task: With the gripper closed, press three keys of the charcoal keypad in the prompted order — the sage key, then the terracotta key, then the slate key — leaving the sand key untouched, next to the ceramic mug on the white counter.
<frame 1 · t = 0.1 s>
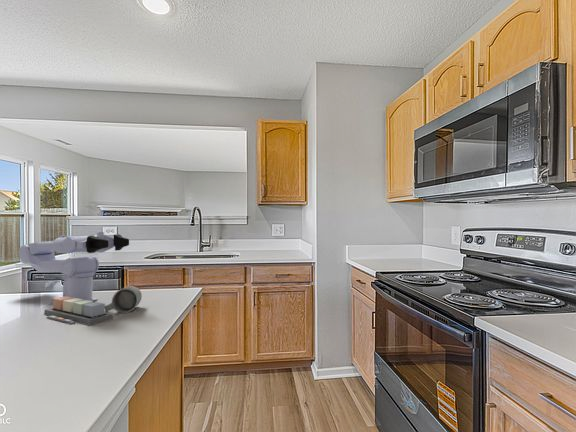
hand: (118, 242, 112), 22 cm above the counter, tool horizontal, fingers open, 7 cm apart
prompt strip: (60, 320, 98), on the counter
terracotta key: (63, 302, 106), point 3 cm above the counter, slide at 0.0 cm
keypad base: (78, 316, 102), on the counter
slate key: (94, 309, 99), point 3 cm above the counter, slide at 0.0 cm
sand key: (73, 304, 103), point 3 cm above the counter, slide at 0.0 cm
sage key: (83, 307, 101), point 3 cm above the counter, slide at 0.0 cm
ceramic mug: (123, 310, 110), on the counter
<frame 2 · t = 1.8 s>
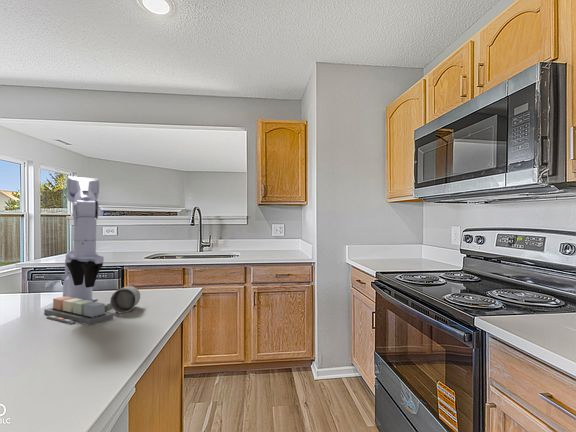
hand: (83, 286, 101), 9 cm above the counter, tool pointing down, fingers open, 5 cm apart
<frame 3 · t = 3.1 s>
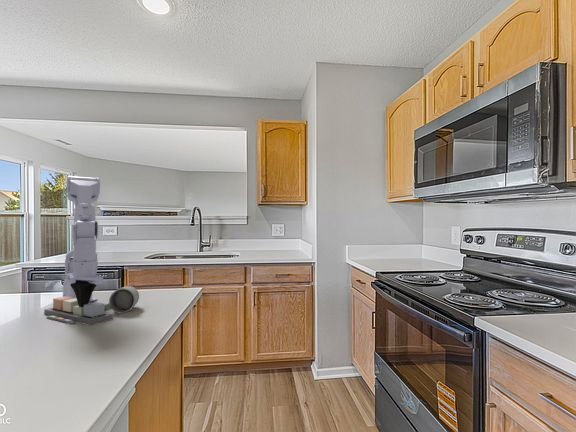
hand: (83, 306, 101), 3 cm above the counter, tool pointing down, fingers closed, pressing on sage key
sage key: (83, 311, 101), point 2 cm above the counter, slide at 1.2 cm, touching gripper
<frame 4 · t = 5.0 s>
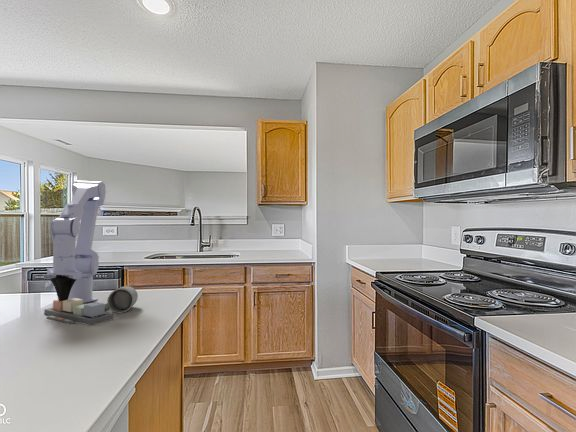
hand: (63, 300, 105), 4 cm above the counter, tool pointing down, fingers closed, pressing on terracotta key
terracotta key: (63, 304, 106), point 3 cm above the counter, slide at 0.6 cm, touching gripper
sage key: (83, 311, 101), point 2 cm above the counter, slide at 1.2 cm
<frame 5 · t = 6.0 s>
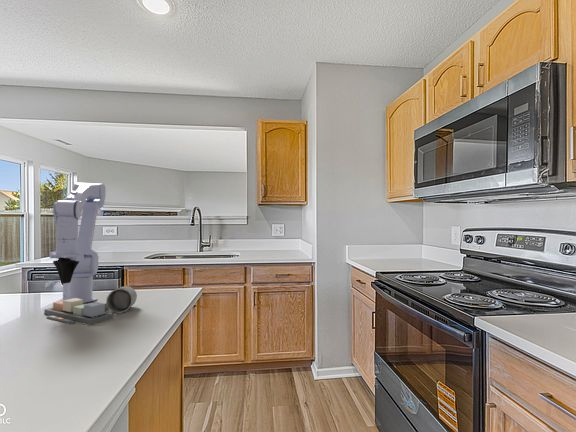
hand: (65, 282, 105), 9 cm above the counter, tool pointing down, fingers closed
terracotta key: (63, 306, 106), point 2 cm above the counter, slide at 1.2 cm
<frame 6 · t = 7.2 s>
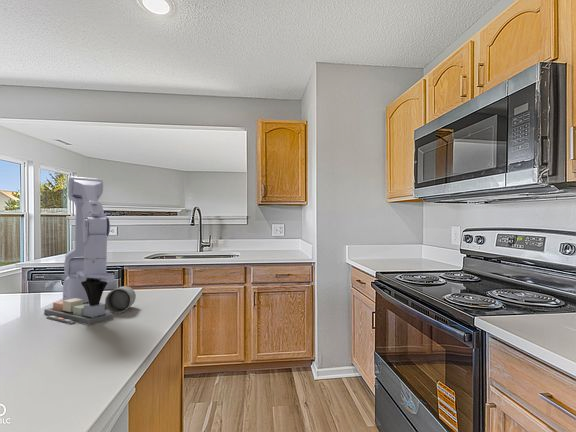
hand: (94, 304, 99), 4 cm above the counter, tool pointing down, fingers closed, pressing on slate key
slate key: (94, 309, 99), point 3 cm above the counter, slide at 0.1 cm, touching gripper
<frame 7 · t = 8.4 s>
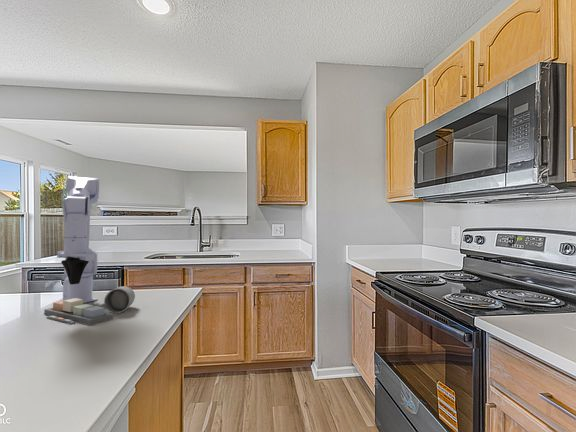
hand: (74, 283, 99), 10 cm above the counter, tool pointing down, fingers closed
slate key: (94, 313, 99), point 2 cm above the counter, slide at 1.2 cm
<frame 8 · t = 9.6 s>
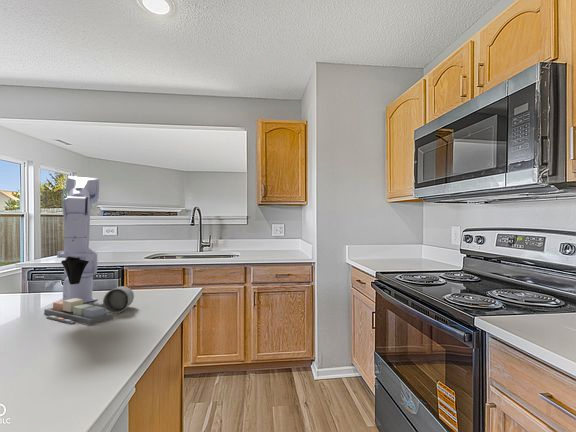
hand: (74, 283, 99), 10 cm above the counter, tool pointing down, fingers closed
at the end: terracotta key slide at 1.2 cm; slate key slide at 1.2 cm; sand key slide at 0.0 cm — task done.
